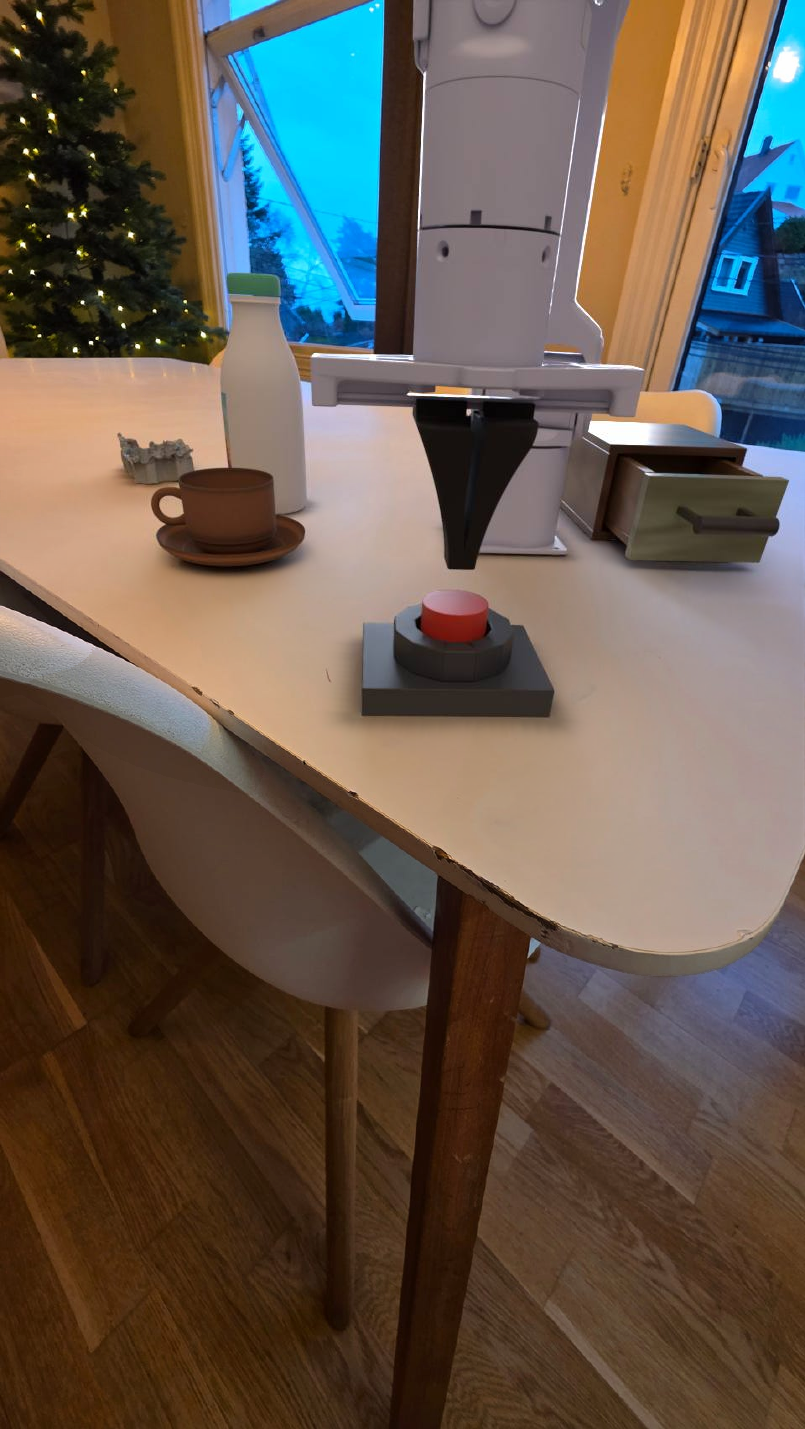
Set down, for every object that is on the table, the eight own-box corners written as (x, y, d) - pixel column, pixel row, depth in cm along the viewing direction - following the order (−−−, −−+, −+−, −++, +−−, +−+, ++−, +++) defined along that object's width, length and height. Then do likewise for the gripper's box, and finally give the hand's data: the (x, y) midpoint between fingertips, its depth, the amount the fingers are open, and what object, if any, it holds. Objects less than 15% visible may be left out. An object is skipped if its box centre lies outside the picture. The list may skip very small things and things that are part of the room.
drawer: (792, 584, 49) (827, 496, 46) (651, 581, 49) (675, 491, 45) (695, 521, 64) (716, 449, 60) (586, 518, 63) (600, 446, 59)
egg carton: (121, 467, 78) (114, 432, 76) (183, 464, 81) (177, 429, 79) (132, 486, 70) (124, 447, 68) (200, 481, 73) (195, 444, 71)
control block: (361, 716, 33) (361, 657, 31) (363, 646, 39) (363, 594, 37) (549, 718, 33) (561, 660, 31) (519, 649, 40) (527, 597, 38)
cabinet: (718, 542, 61) (748, 448, 56) (591, 539, 60) (610, 443, 55) (663, 505, 72) (684, 424, 67) (555, 502, 71) (569, 420, 67)
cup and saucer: (168, 587, 46) (153, 501, 43) (153, 538, 55) (140, 465, 52) (324, 569, 51) (321, 490, 47) (286, 527, 60) (281, 459, 56)
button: (422, 645, 33) (424, 615, 32) (418, 617, 36) (420, 588, 35) (490, 646, 33) (494, 616, 32) (480, 618, 36) (483, 589, 35)
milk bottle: (322, 505, 67) (315, 277, 56) (272, 521, 61) (254, 271, 50) (268, 493, 70) (251, 275, 59) (216, 507, 64) (187, 270, 54)
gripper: (297, 214, 21) (313, 589, 29) (708, 236, 22) (620, 595, 30) (312, 234, 27) (322, 541, 35) (637, 250, 28) (579, 546, 36)
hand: (459, 563), depth 33 cm, fingers closed
